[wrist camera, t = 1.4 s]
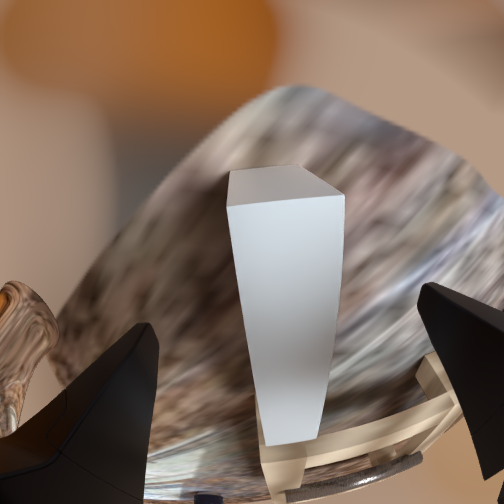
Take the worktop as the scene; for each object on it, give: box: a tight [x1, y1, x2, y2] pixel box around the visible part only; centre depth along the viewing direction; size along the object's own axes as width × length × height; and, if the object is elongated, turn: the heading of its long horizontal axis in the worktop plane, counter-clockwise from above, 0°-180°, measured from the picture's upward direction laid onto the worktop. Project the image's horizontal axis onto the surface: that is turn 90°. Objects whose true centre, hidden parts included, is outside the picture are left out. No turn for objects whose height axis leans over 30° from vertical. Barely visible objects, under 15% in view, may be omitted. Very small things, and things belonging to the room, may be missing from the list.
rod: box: [285, 451, 423, 503], centre depth 18 cm, size 15×2×2 cm, turn 96°
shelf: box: [255, 351, 462, 504], centre depth 21 cm, size 18×24×6 cm
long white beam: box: [226, 164, 345, 446], centre depth 12 cm, size 3×14×6 cm, turn 6°
